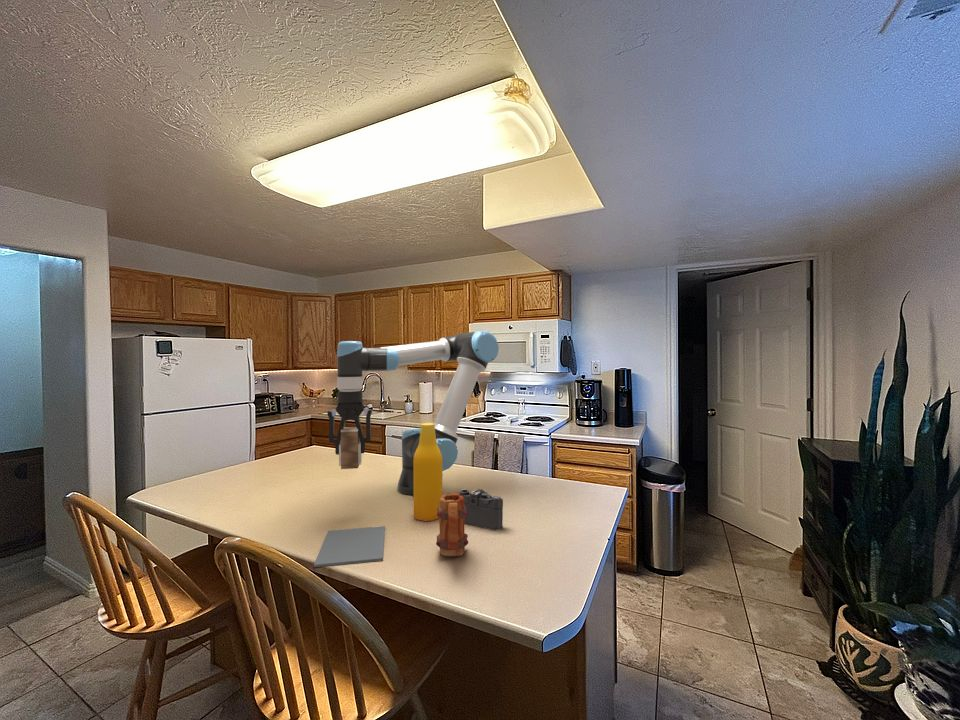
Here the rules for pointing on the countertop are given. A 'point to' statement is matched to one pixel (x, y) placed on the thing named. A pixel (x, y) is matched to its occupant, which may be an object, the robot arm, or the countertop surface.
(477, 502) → the camera
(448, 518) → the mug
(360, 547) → the mat
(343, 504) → the countertop surface
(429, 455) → the beer bottle
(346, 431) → the block
